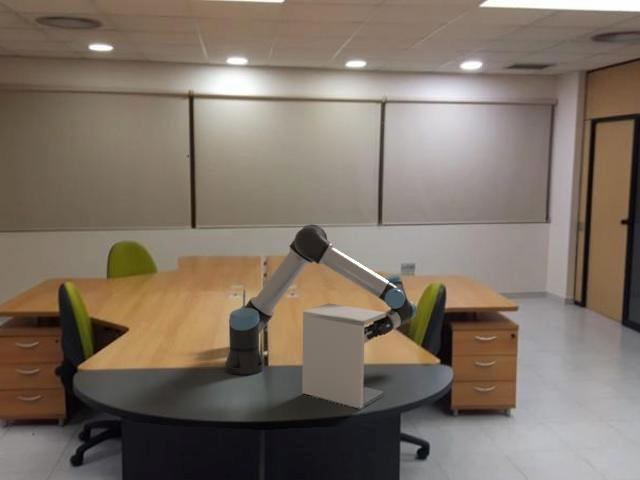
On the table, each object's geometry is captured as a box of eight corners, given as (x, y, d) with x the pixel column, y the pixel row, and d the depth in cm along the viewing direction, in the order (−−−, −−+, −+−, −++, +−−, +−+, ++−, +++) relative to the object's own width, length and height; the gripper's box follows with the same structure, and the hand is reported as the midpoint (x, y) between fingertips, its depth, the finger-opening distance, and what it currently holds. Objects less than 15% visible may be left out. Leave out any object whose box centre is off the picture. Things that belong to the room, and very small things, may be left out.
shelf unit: (360, 410, 203) (362, 321, 200) (302, 394, 217) (302, 311, 213) (384, 395, 216) (386, 312, 213) (327, 382, 230) (328, 303, 227)
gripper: (411, 326, 232) (374, 349, 219) (369, 335, 251) (333, 356, 238) (404, 308, 232) (366, 329, 219) (362, 318, 252) (325, 338, 238)
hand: (348, 343), depth 228 cm, fingers open, 13 cm apart
